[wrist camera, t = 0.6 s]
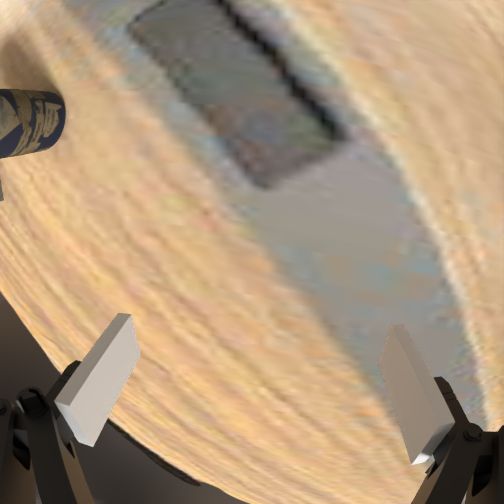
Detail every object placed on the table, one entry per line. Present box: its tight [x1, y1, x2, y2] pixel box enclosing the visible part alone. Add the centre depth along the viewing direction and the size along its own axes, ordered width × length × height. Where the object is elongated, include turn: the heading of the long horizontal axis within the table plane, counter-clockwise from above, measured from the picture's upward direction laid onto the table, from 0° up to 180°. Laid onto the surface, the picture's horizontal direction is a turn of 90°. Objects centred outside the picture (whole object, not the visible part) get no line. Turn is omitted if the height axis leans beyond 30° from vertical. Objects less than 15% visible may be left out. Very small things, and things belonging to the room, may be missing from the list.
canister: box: [0, 89, 65, 159], centre depth 29 cm, size 10×10×18 cm
